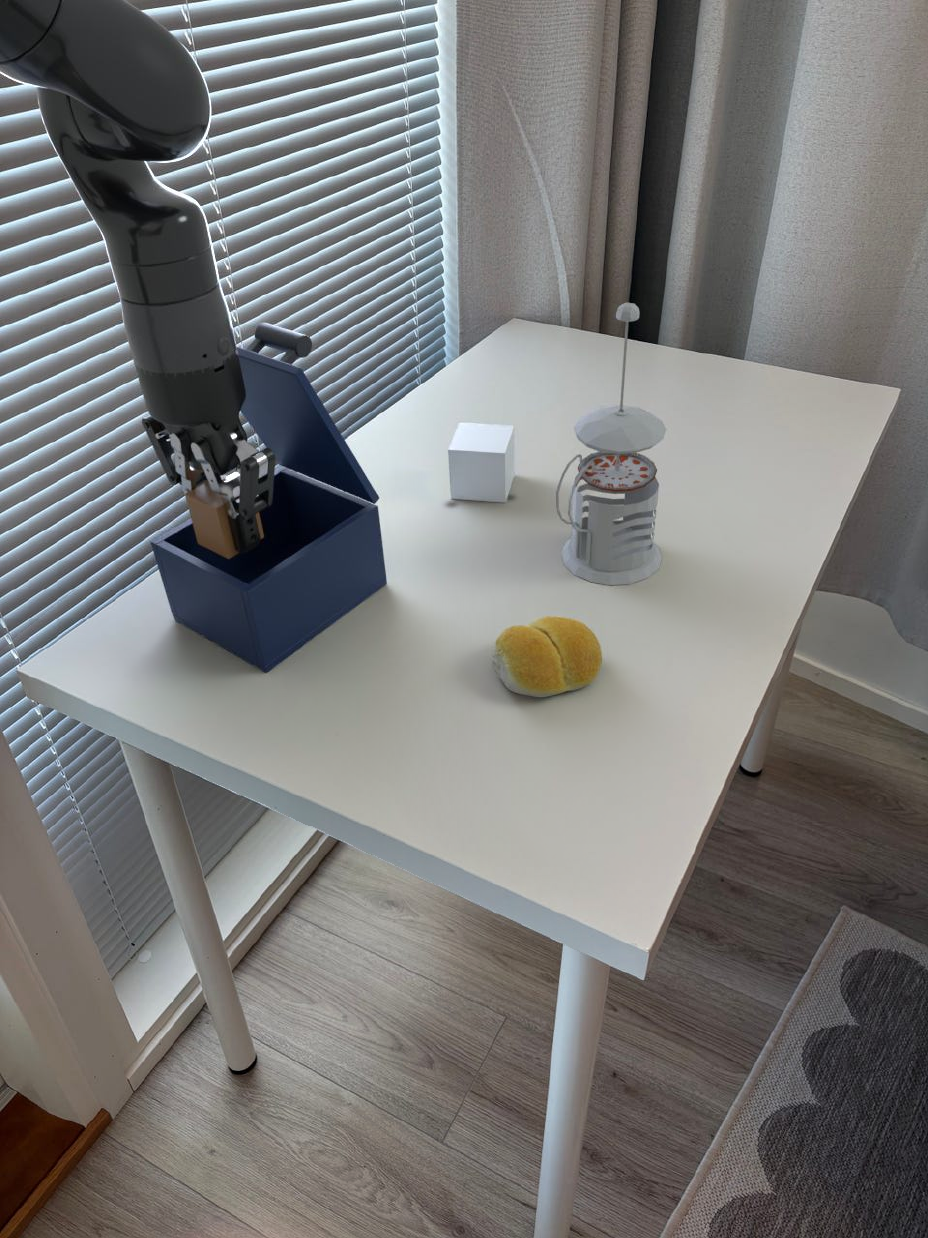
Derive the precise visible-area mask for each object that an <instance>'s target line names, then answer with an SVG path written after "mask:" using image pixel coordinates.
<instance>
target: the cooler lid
mask: <svg viewBox="0 0 928 1238" xmlns="http://www.w3.org/2000/svg"><path fill="white" fill-rule="evenodd" d="M265 347H267V348H269V349H273V350H276V351H278V352H279V351H280V352H283V353H284V354H283V355H282V357H281V358H280V359H279V360H278V359H275V358H273V357H270V356H268V355H263V354H261V353H260V352H261V351H262V350H263V349H264V348H265ZM312 349H313V341H312V339H311V337H310V336H309V335H308V334H307V335H306V334H303V333H300V332H297V331H293V330H291V329H287V328H284V327H281V326H277V325H274V324H271V323H268V322H261V323H259V324H258V325H257V326H256V328H255V330H254V339H253V340H252V341H251V343H250V344H249V345H248V346H247V347H246V348H244V347H243V348H242V347H239V346H237V351H238V356H239V361H240V366H241V371H242V375H243V380H244V385H245V390H246V398H245V401H244V403H243V405H242V407H241V410H240V413H241V414H242V415H243V417H244V419H245V420H246V421H247V422H248V424H249V425H250V427H251V428H252V429H253V430H254V433H256V435H257V437H258V438H259V439H260V441H261V442H262V443H263V445H264V446H265V448H270V449H271V450H272V451H273V453H274V454H275V463H277V465H279V466H280V467H281V466H283V467H285V468H287V469H290V470H292V471H295V472H297V473H299V474H302V475H304V476H307V477H309V478H312V479H314V480H316V481H319V482H321V483H324V484H326V485H329V486H331V487H333V488H336V489H338V490H341V491H343V492H345V493H348V494H350V495H353V496H355V497H358V498H360V499H362V500H365V501H367V502H370V503H371V504H375V505H376V504H377V502H378V501H379V500H380V496H379V494H378V493H377V491H376V489H375V488H374V486H373V485H372V483H371V480H370V479H369V478H368V476H367V475H366V472H365V471H364V470H363V468H362V466H361V464H360V462H359V461H358V460H357V458H356V456H355V455H354V453H353V451H352V449H351V448H350V447H349V445H348V443H347V441H346V440H345V438H344V437H343V435H342V432H341V431H340V430H339V429H338V427H337V425H336V423H335V421H334V420H333V418H332V416H331V415H330V413H329V412H328V410H327V409H326V407H325V405H324V403H323V402H322V400H321V398H320V397H319V395H318V393H317V392H316V390H315V388H314V387H313V385H312V383H311V382H310V380H309V379H308V377H307V375H306V373H305V372H304V370H303V369H302V368H301V367H299V366H297V365H294V363H295V362H296V361H297V359H299V358H302V359H304V358H307V357H308V356H309V355H310V354H311V352H312Z"/></svg>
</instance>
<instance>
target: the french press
mask: <svg viewBox="0 0 928 1238" xmlns="http://www.w3.org/2000/svg"><path fill="white" fill-rule="evenodd" d="M615 318H616V320H618V321H620V322H625V328H624V329H625V330H624V345H623V360H622V372H621V373H622V374H621V387H620V388H621V390H620V391H621V392H620V404H618V405H609V406H601V407H598V408H596V409H594V410H592V411H589V412H587V413H586V414H584V415H583V416H581V417H580V418H578V419H577V420H576V422H575V424H574V425H573V431H574V433H575V436H576V439H577V440H578V441H579V442H580V443H581V444H583V445H584V446H585V447H586V448H589V449H592V450H594V451H596V452H591V453H590V454H588V455H587V456H585V457H583V456H582V454H580V453H579V454H575V456H574V457H572V458H571V460H570V461H568V463H567V464H566V466H565V468H564V470H563V471H562V473H561V476H560V477H559V478H560V479H559V481H558V485H557V487H556V491H555V509H556V514H557V516H558V518H559V520H560V521H561V522H563V523H564V524H566V525H571V528H572V529H571V537H570V538H569V539H567V540H566V541H565V542H564V544H563V547H562V549H561V551H560V554H561V559H562V564H563V565H564V566H565V567H566V568H567V570H569V571H570V572H571V573H572V574H573V575H574V576H576V577H579V578H581V579H583V580H585V581H587V582H589V583H594V584H601V585H606V586H620V585H621V586H622V585H632V584H635V583H638V582H641V581H643V580H645V579H648V578H650V577H651V576H652V575H653V574H654V573H655V572H657V571H658V570H659V569H660V567H661V563H662V560H663V555H662V552H661V549H660V548H659V545H658V544H657V543H655V542H654V539H655V530H656V519H657V507H658V501H659V491H660V483H659V481H658V479H657V476H656V475H657V472H658V469H657V467H656V465H655V462H654V461H653V460H652V459H650V458H648V456H646V455H643V454H642V453H639V452H643V451H647V450H650V449H652V448H653V447H655V446H656V445H657V444H659V443H660V442H661V441H663V440H664V438H665V436H666V432H667V427H666V425H665V424H664V422H663V420H662V419H660V418H659V417H658V416H656V415H655V414H653V413H651V412H650V411H647V410H645V409H643V408H640V407H639V406H637V407H636V406H630V405H624V393H625V378H626V366H627V365H626V363H627V350H628V334H629V322H630V323H631V322H635V321H638V320H639V318H640V308H639V307H638V306H637V305H636V303H631V302H624V303H622V304H621V305H619V306H618V307H617V310H616V313H615ZM578 458H579V460H578V461H579V464H578V466H577V471H578V473H577V474H576V475H575V477H574V481H573V484H572V486H571V489H570V492H569V496H568V501H567V515H568V519H569V520H566V519H565V518H563V515H562V513H561V510H560V496H559V494H560V490H561V485H562V482H563V480H564V478H565V475H566V473H567V472H568V470H569V468H570V467H571V464H573V463H574V462H575V461H576V459H578ZM582 480H583V481H584V482H585V483H583V484H581V485H579V483H580V481H582ZM578 485H579V486H578ZM577 487H578V488H577ZM586 490H587V491H593V492H598V493H603V494H611V495H624V498H608V497H602V496H595V495H590V494H584V495H583V494H582V493H581V492H585V491H586ZM572 499H573V501H572ZM584 502H588V505H584ZM584 513H587V516H584V517H583V514H584ZM621 518H622V520H619V519H621Z"/></svg>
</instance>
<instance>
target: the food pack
mask: <svg viewBox="0 0 928 1238" xmlns="http://www.w3.org/2000/svg"><path fill="white" fill-rule="evenodd" d="M227 476H228V475H227V474H224V475H221V479H224V478H225V477H227ZM233 495H234V497H235V500H237V499H239V496H240V487H239V486H237V487H236V488H234V489H233ZM184 496H185V500H186V504H187V508H188V512H189V515H190V519H192V523H193V527H194V530H195V534H196V538H197V542H198V544H199V545H201V546H203V547H205V548H207V549H209V550H211V551H213V552H215V553H217V554H219V555H221V556H223V557H225V558H227V559H230V558H232V557H233V556H235V555H237V554H238V553H240V552H238V551H236V550H235V547H234V543H233V538H232V534H231V530H230V526H229V522H228V517H227V516H228V513H227V511H226V509H225V506H224V504H223V502H222V499H221V497H220V494H219V493H215V492H213V491H212V489H211V487H210V485H209V482H208V481H207V482H206V483H204V484H202V485H200V486H198V487H197V488H195V489H193V490H191V491H189V492H187V493H186V494H184ZM256 518H257V523H258V528H259V532H260V537H261V539H262V538H264V534H263V529H262V525H261V520H260V515H259V512H258V513H257V514H256Z"/></svg>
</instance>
